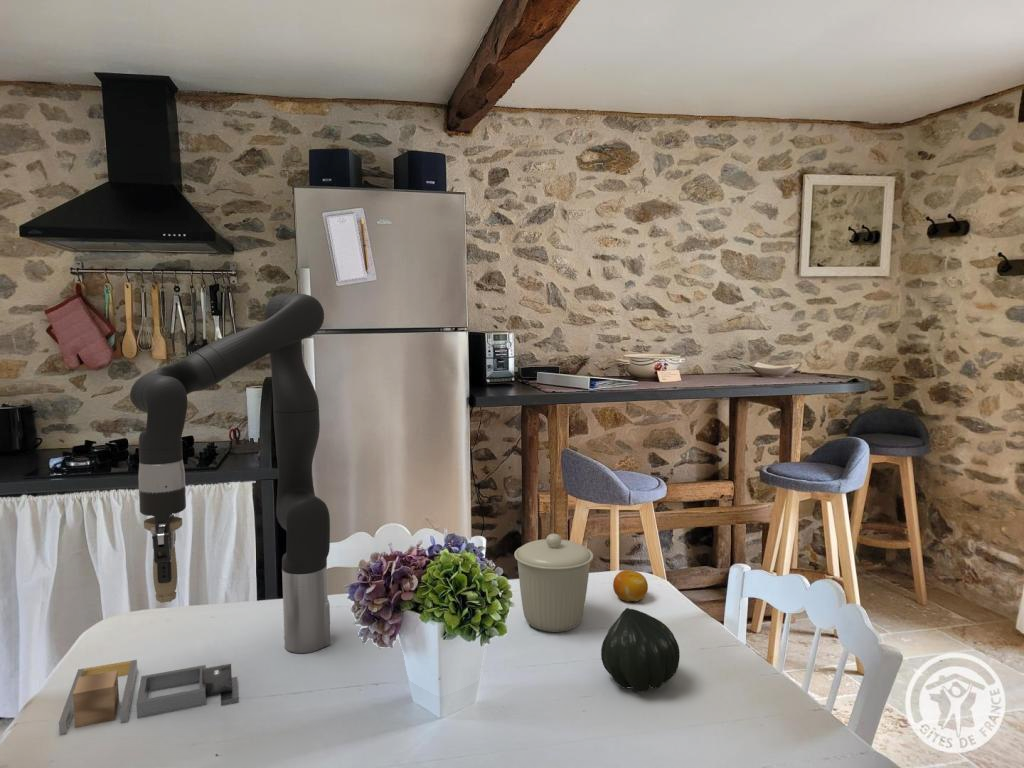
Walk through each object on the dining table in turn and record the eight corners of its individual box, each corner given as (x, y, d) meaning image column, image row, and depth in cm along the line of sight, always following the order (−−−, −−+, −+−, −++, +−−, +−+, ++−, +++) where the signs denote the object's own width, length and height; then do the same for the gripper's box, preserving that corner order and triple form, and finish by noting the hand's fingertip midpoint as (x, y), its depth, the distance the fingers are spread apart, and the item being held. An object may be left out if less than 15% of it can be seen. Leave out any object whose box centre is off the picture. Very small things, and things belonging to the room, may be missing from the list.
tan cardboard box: (119, 701, 129) (117, 670, 129) (115, 719, 124) (113, 686, 123) (80, 709, 127) (78, 677, 126) (74, 727, 121) (72, 694, 121)
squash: (703, 670, 133) (671, 593, 140) (634, 690, 127) (604, 608, 135) (670, 690, 143) (641, 617, 151) (605, 709, 138) (579, 632, 146)
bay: (137, 676, 141) (136, 659, 140) (127, 728, 123) (126, 709, 123) (79, 686, 137) (78, 669, 136) (60, 742, 119) (58, 722, 119)
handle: (174, 606, 127) (170, 525, 126) (141, 603, 129) (138, 522, 127) (190, 596, 132) (187, 517, 131) (158, 593, 133) (155, 515, 132)
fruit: (639, 596, 172) (635, 563, 176) (608, 601, 176) (605, 569, 180) (655, 602, 178) (651, 570, 182) (624, 607, 182) (621, 575, 186)
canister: (596, 641, 156) (597, 547, 154) (513, 640, 156) (513, 547, 154) (588, 606, 174) (589, 522, 172) (514, 606, 174) (514, 522, 172)
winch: (236, 679, 140) (235, 652, 139) (238, 705, 131) (237, 676, 130) (142, 696, 133) (141, 668, 133) (137, 725, 124) (136, 695, 124)
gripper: (182, 493, 123) (186, 589, 125) (187, 475, 136) (190, 562, 138) (133, 496, 120) (138, 595, 122) (143, 478, 133) (147, 567, 135)
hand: (165, 577), depth 130 cm, fingers closed on handle, 4 cm apart
